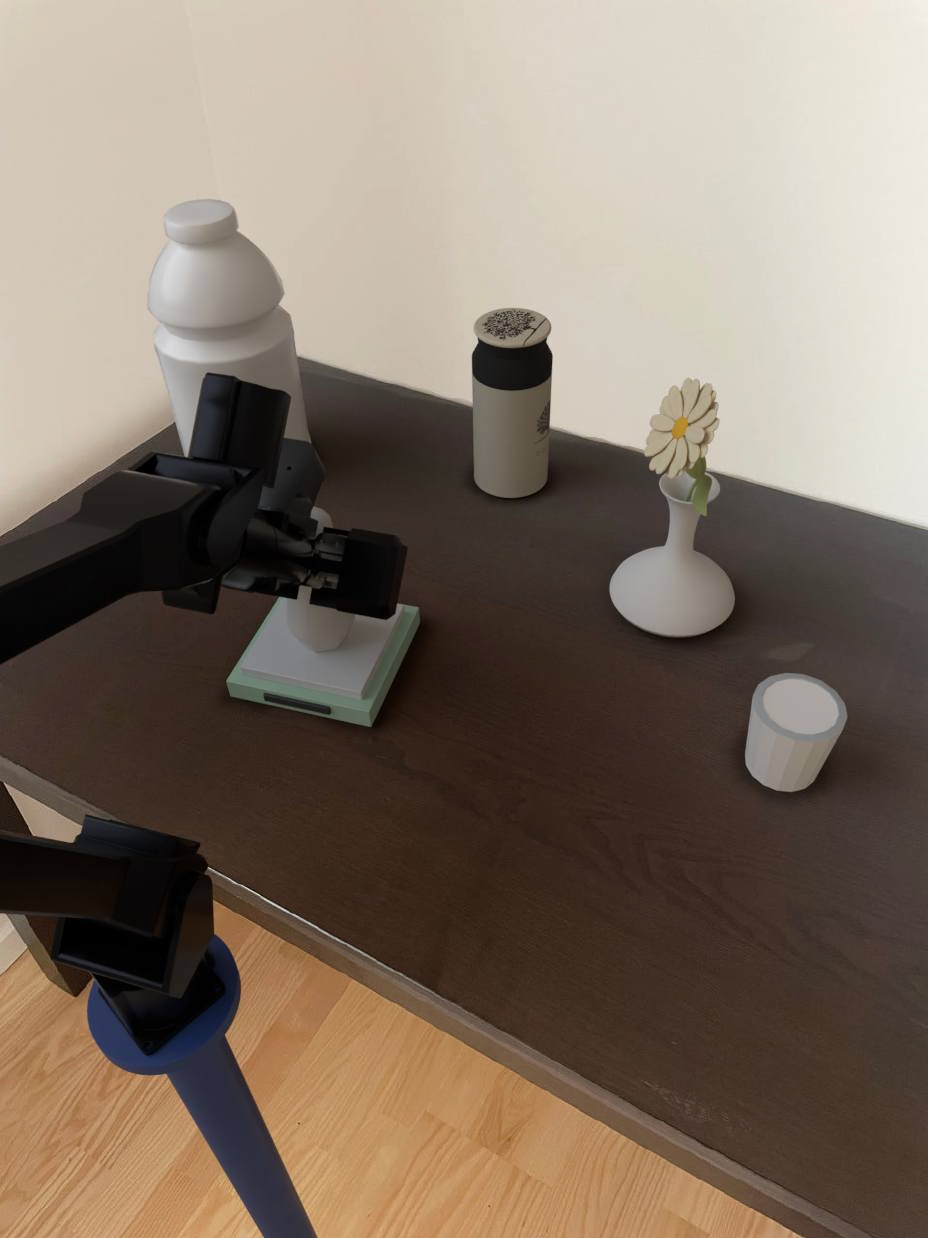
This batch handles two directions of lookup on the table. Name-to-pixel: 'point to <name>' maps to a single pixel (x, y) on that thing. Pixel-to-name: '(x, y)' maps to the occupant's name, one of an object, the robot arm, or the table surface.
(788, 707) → the shot glass
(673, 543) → the flower in vase
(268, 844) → the table surface
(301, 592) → the salt shaker
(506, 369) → the travel mug
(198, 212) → the bottle
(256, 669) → the scale
